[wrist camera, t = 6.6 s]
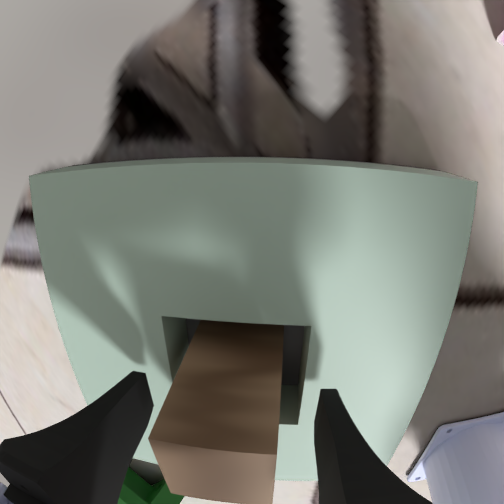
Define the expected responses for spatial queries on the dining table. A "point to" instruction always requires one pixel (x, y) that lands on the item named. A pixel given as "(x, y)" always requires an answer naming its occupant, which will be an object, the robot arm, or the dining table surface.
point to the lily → (501, 38)
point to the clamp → (145, 491)
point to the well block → (259, 277)
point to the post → (223, 415)
